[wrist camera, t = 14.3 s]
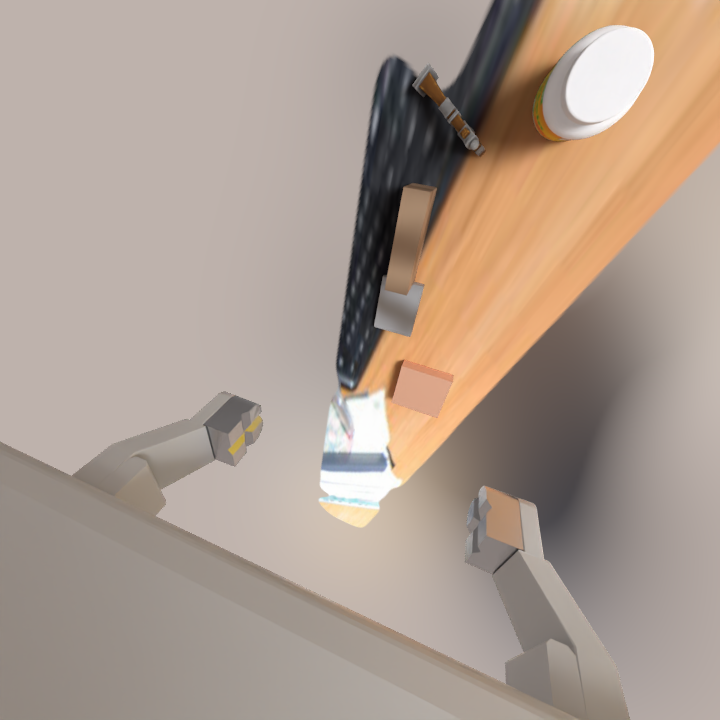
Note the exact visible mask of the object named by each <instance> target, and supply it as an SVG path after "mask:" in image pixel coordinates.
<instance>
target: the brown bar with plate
mask: <svg viewBox="0 0 720 720" xmlns="http://www.w3.org/2000/svg"><path fill="white" fill-rule="evenodd" d="M436 190H437V187H432V186H426V185H421V184H415V183H412V184H410V185H407V186H405V187H403V193H402V198H401V203H400V209H399V214H398V220H397V225H396V230H395V236H394V241H393V247H392V252H391V258H390V263H389V268H388V274H387V275H384V276H383V278H382V284H381V289H380V295H379V301H378V306H377V312H376V318H375V323H374V327H377V328H381V329H384V330H388V331H391V332H395V333H398V334H402V335H405V336H409V337H410V336H411V333H412V330H413V326H414V322H415V318H416V315H417V311H418V307H419V303H420V299H421V296H422V292H423V288H424V284H421V283H417V282H414V281H415V277H416V273H417V269H418V265H419V260H420V256H421V252H422V248H423V244H424V240H425V236H426V232H427V227H428V223H429V219H430V215H431V211H432V207H433V203H434V199H435V194H436Z"/></svg>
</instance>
